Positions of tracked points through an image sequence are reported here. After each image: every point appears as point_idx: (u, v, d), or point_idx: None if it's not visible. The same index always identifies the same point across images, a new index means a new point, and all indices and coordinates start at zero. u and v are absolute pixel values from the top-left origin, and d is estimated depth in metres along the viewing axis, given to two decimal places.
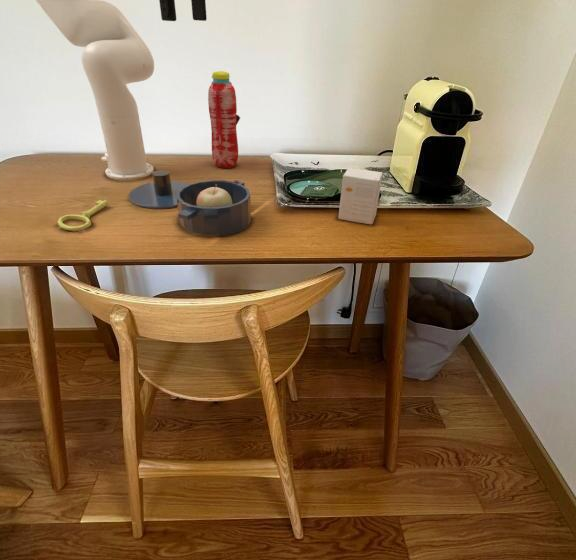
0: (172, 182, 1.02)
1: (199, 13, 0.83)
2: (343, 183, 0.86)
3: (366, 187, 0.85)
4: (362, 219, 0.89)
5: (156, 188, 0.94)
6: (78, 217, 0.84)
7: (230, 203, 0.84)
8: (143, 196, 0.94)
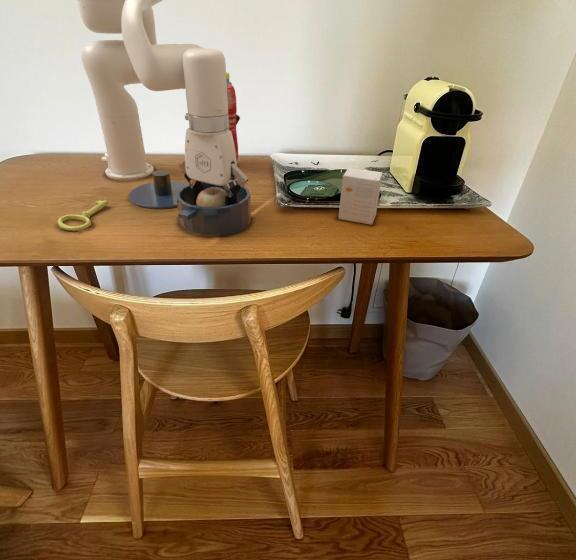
0: (172, 182, 1.02)
1: None
2: (343, 183, 0.86)
3: (366, 187, 0.85)
4: (362, 219, 0.89)
5: (156, 188, 0.94)
6: (78, 217, 0.84)
7: None
8: (143, 196, 0.94)
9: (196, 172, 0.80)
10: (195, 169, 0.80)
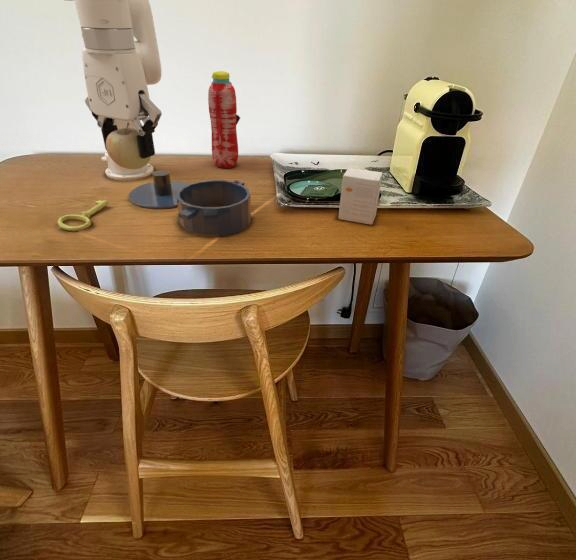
0: (172, 182, 1.02)
1: None
2: (343, 183, 0.86)
3: (366, 187, 0.85)
4: (362, 219, 0.89)
5: (156, 188, 0.94)
6: (78, 217, 0.84)
7: None
8: (143, 196, 0.94)
9: (100, 105, 0.67)
10: (98, 101, 0.67)
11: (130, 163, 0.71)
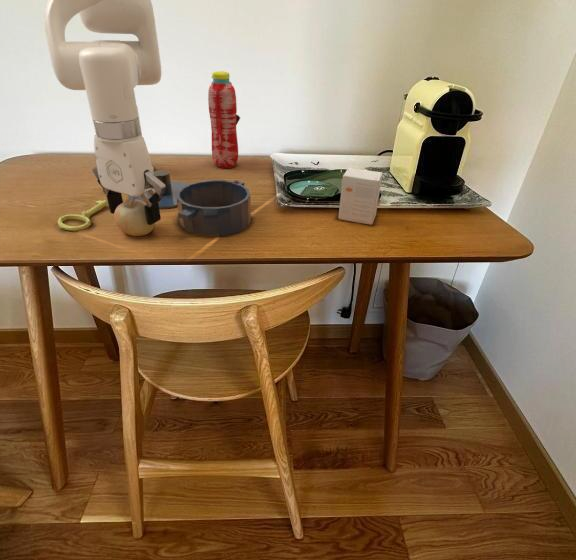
0: (172, 182, 1.02)
1: None
2: (343, 183, 0.86)
3: (366, 187, 0.85)
4: (362, 219, 0.89)
5: None
6: (78, 217, 0.84)
7: None
8: None
9: (109, 181, 0.74)
10: (107, 178, 0.74)
11: (135, 233, 0.79)
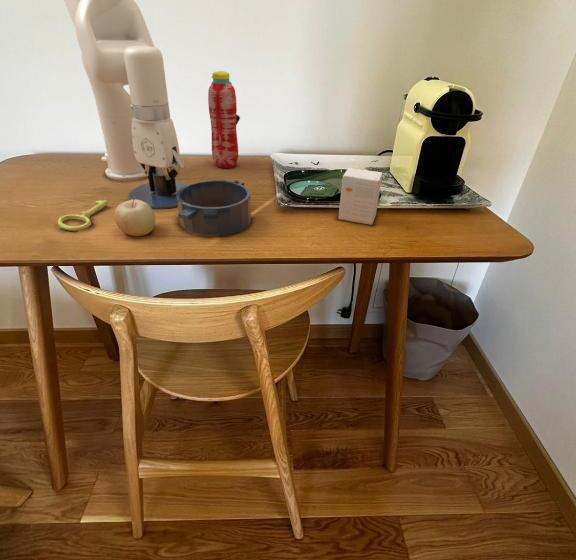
0: None
1: None
2: (343, 183, 0.86)
3: (366, 187, 0.85)
4: (362, 219, 0.89)
5: (156, 188, 0.94)
6: (78, 217, 0.84)
7: (150, 217, 0.79)
8: (143, 196, 0.94)
9: (143, 156, 0.90)
10: (142, 154, 0.90)
11: (135, 233, 0.79)
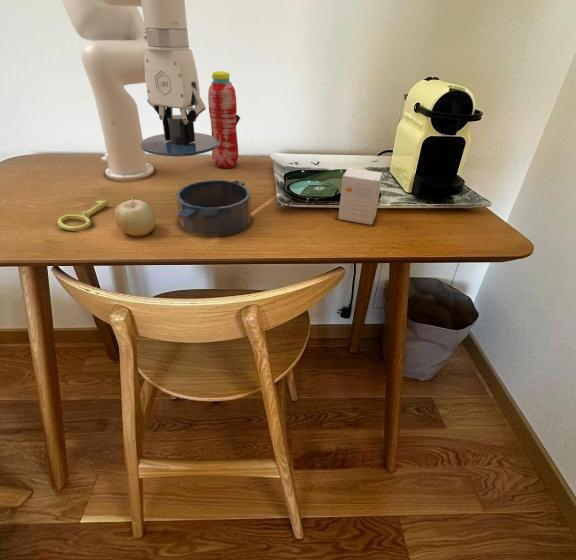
0: None
1: None
2: (343, 183, 0.86)
3: (366, 187, 0.85)
4: (362, 219, 0.89)
5: (172, 135, 0.82)
6: (78, 217, 0.84)
7: (150, 217, 0.79)
8: (157, 144, 0.82)
9: (157, 95, 0.78)
10: (156, 92, 0.77)
11: (135, 233, 0.78)
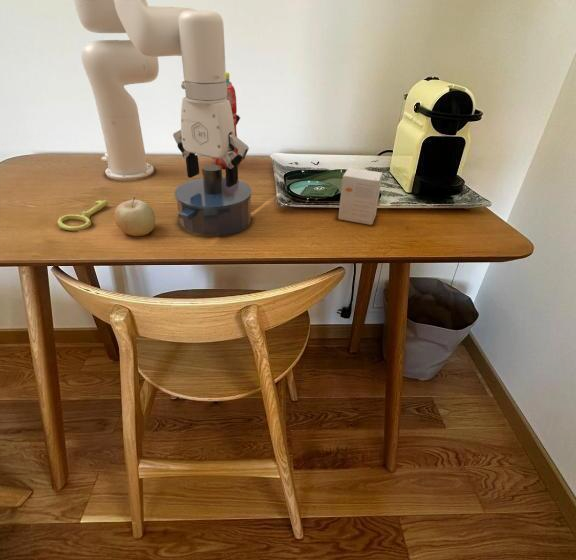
0: None
1: (195, 170, 0.84)
2: (343, 183, 0.86)
3: (366, 187, 0.84)
4: (362, 219, 0.89)
5: (206, 185, 0.82)
6: (78, 217, 0.84)
7: (150, 217, 0.79)
8: (191, 194, 0.82)
9: (193, 144, 0.77)
10: (192, 141, 0.77)
11: (135, 233, 0.78)
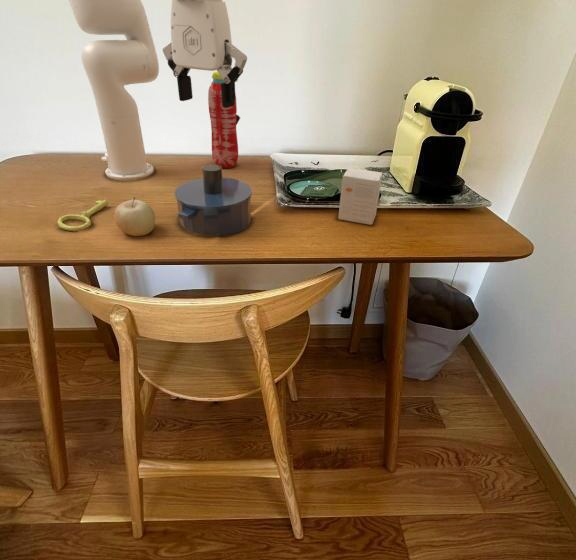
0: None
1: (188, 92, 0.75)
2: (343, 183, 0.86)
3: (366, 187, 0.84)
4: (362, 219, 0.89)
5: (206, 185, 0.82)
6: (78, 217, 0.84)
7: (150, 217, 0.79)
8: (191, 194, 0.82)
9: (184, 55, 0.68)
10: (183, 51, 0.68)
11: (135, 233, 0.79)
